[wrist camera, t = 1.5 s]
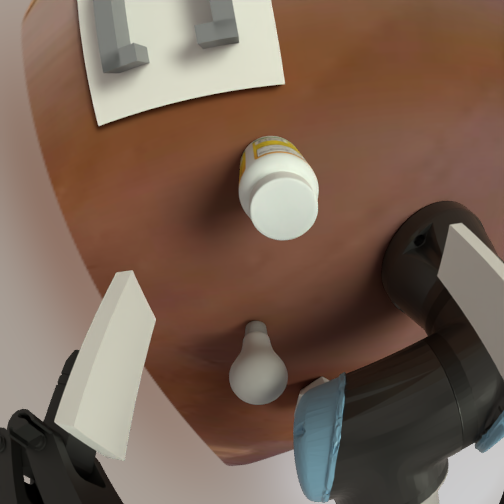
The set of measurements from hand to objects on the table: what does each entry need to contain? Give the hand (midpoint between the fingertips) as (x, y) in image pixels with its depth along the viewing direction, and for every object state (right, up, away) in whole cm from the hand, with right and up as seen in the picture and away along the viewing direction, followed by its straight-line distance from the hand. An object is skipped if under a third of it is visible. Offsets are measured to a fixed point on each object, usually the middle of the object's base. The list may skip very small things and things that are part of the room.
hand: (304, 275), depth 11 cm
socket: (-9, +21, +5) cm, 23 cm away
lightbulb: (-2, -8, +24) cm, 25 cm away
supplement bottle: (0, +9, +14) cm, 16 cm away
